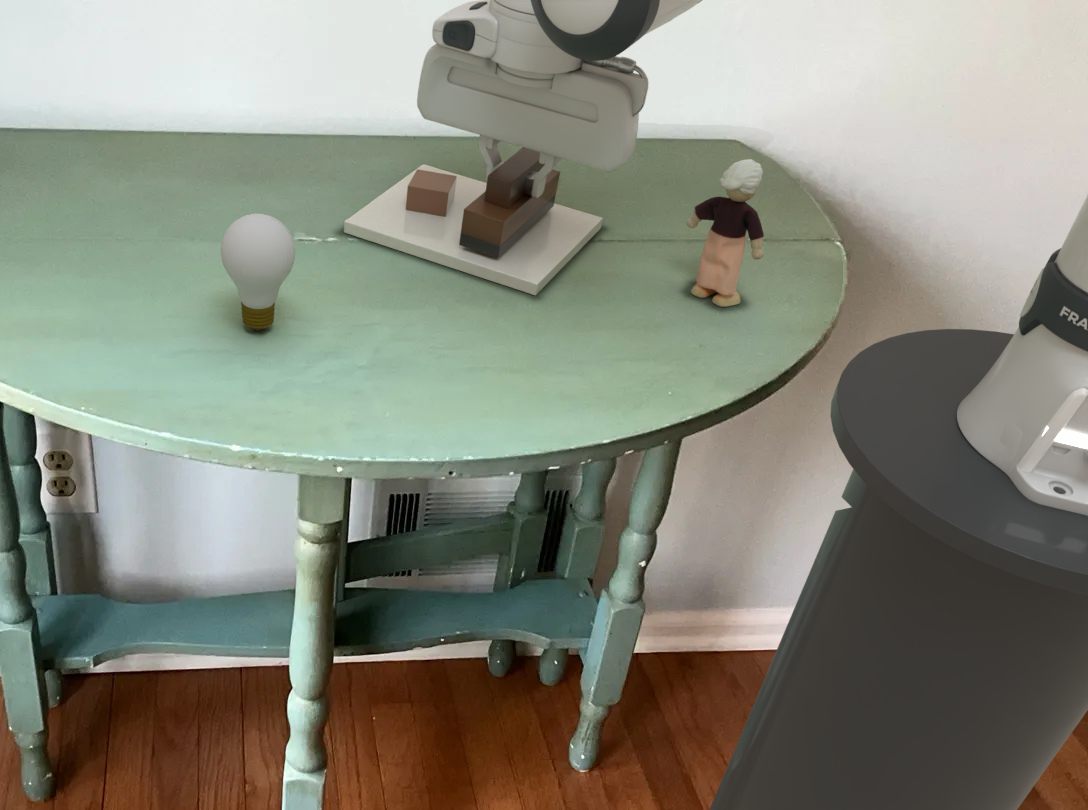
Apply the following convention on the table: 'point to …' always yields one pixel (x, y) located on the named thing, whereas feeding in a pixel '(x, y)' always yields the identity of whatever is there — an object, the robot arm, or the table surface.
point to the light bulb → (258, 264)
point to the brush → (507, 205)
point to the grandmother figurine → (728, 233)
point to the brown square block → (431, 192)
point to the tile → (439, 243)
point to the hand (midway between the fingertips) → (513, 188)
